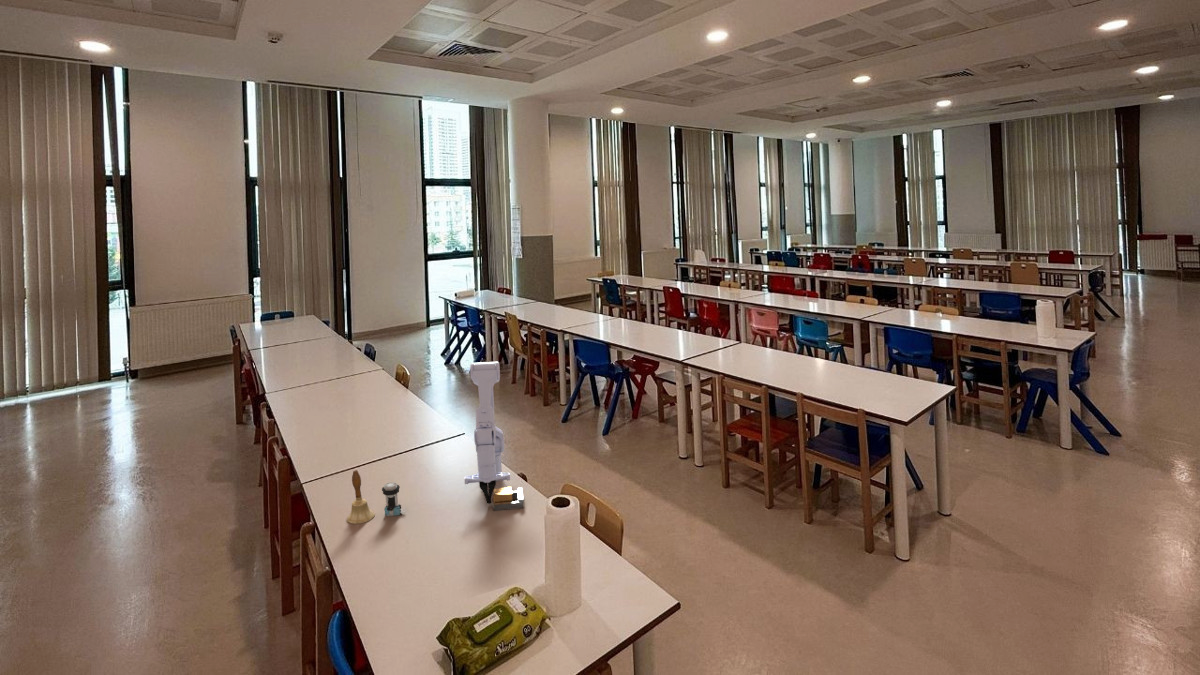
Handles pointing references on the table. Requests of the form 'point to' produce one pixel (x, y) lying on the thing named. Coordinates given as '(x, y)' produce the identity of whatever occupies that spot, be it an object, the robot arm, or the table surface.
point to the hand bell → (359, 504)
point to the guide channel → (513, 504)
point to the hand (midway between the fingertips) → (488, 501)
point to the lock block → (502, 495)
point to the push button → (392, 499)
